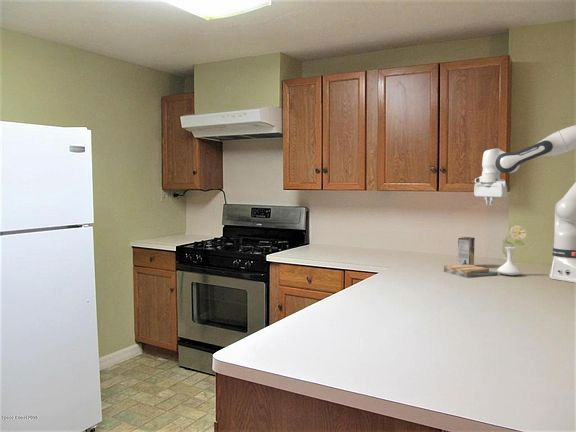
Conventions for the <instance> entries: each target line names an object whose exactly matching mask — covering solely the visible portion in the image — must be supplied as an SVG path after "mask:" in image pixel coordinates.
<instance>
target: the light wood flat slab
mask: <svg viewBox="0 0 576 432" xmlns="http://www.w3.org/2000/svg"><path fill="white" fill-rule="evenodd" d="M450 266H451V267H455V268H460V269H464V270H468V271H470V274H472V273H482V272H489V270H490V269H489V268H486V267H482V266H477V265H475V264H474V265H470V264H464V265H458V264H457V265H456V264H455V265H450Z"/></svg>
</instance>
